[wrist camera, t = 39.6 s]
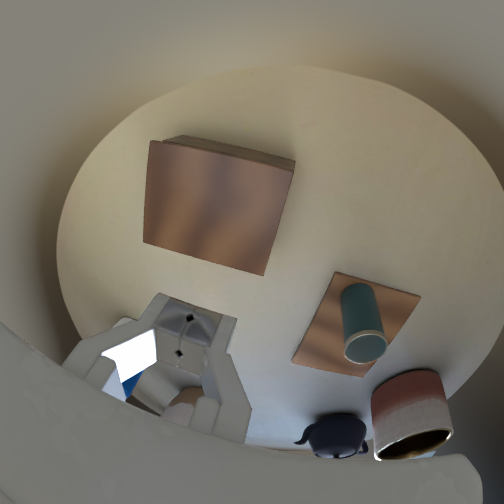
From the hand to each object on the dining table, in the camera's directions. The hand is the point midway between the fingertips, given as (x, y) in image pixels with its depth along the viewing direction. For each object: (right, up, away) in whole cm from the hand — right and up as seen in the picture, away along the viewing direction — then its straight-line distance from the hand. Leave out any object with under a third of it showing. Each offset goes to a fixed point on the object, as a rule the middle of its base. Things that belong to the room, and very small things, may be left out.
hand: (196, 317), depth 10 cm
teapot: (+24, -43, +52) cm, 71 cm away
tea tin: (+18, -5, +31) cm, 37 cm away
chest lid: (-3, +8, +23) cm, 24 cm away
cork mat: (+20, -12, +36) cm, 42 cm away
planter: (+38, -30, +42) cm, 64 cm away
